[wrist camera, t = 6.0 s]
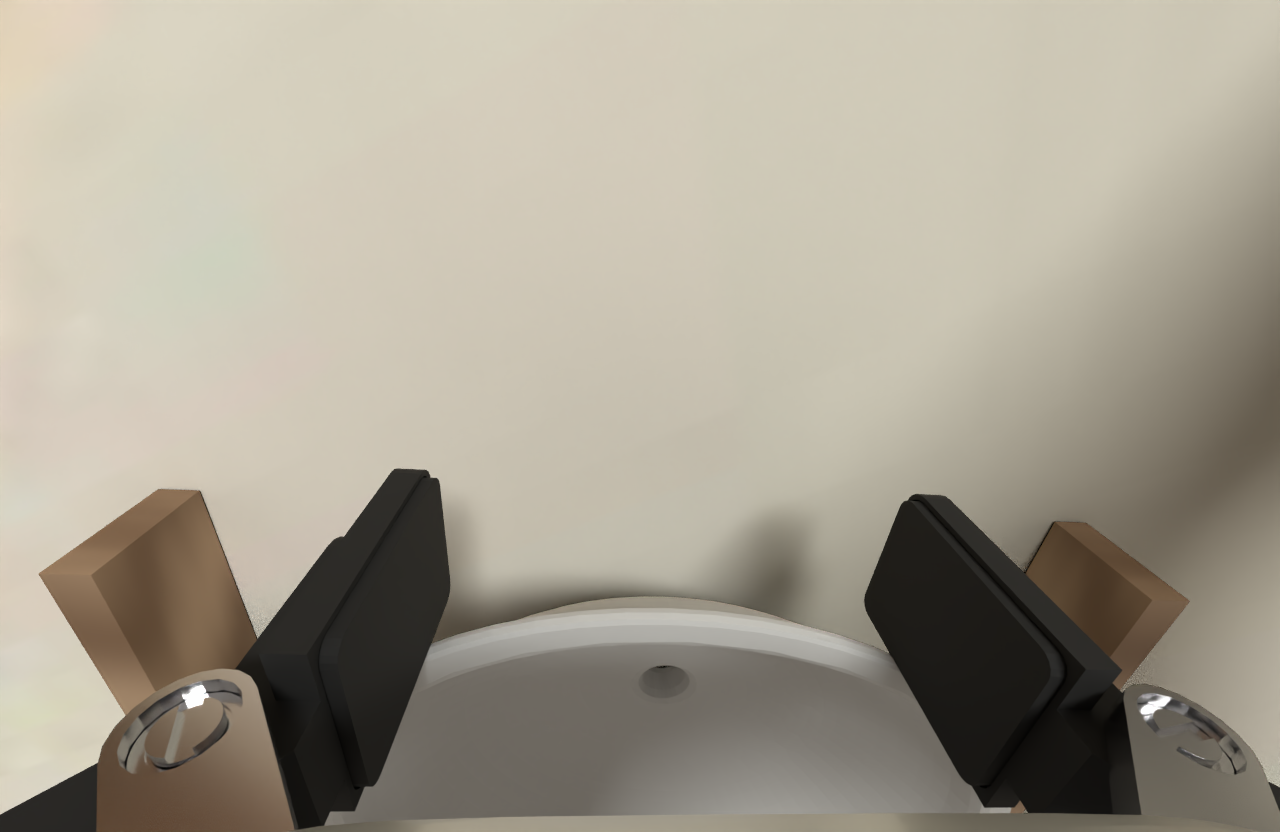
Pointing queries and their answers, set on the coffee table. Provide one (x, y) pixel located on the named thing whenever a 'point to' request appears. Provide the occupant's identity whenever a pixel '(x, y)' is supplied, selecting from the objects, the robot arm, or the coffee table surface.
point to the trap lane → (222, 635)
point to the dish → (660, 721)
